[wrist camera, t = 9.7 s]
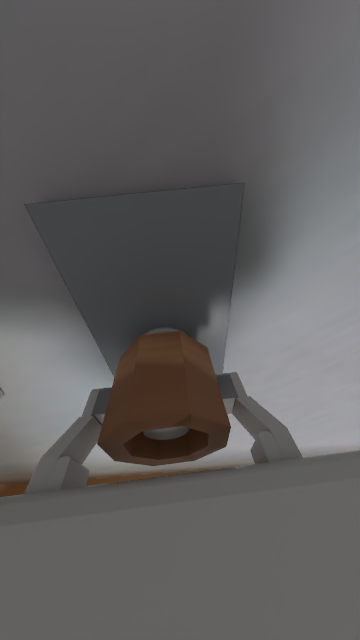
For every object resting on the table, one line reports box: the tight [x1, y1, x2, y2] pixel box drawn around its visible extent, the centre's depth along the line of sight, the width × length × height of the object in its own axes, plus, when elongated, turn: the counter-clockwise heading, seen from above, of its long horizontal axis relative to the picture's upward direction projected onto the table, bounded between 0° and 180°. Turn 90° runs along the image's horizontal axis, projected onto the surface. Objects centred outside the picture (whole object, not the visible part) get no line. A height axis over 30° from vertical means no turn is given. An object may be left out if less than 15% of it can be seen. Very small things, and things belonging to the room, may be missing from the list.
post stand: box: [24, 183, 244, 440], centre depth 11 cm, size 10×16×7 cm, turn 5°
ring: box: [97, 331, 231, 466], centre depth 10 cm, size 6×6×5 cm
